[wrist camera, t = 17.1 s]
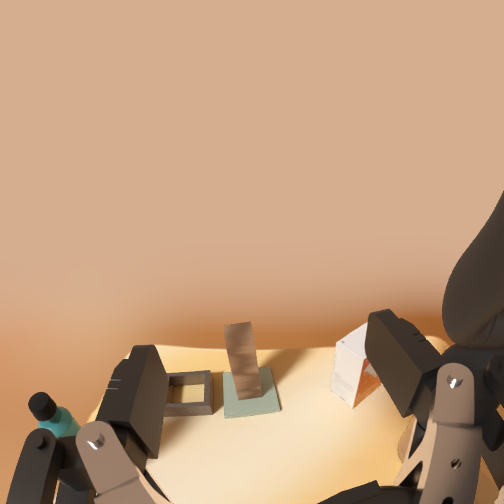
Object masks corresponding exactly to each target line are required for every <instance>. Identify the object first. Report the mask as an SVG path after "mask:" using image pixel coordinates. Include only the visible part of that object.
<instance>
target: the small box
mask: <svg viewBox="0 0 504 504" xmlns="http://www.w3.org/2000/svg"><path fill="white" fill-rule="evenodd" d="M367 324H368V323H365V324H363V325H362V326H360V327H359V328H357V329H356V330H354V331H352V332H351V333H349V334H348V335H347V336H345V337H344V338H342V339H341V340H339V341H338V342H336V350H335V360H334V369H333V377H332V385H331V392H332V393H333V394H334V395H336V396H337V397H338V398H339V399H341V400H342V401H343V402H345V403H346V404H347V405H348V406H350V407H351V408H354V407H355V406H356V405H357V404H359V403H360V402H361V401H362V400H363V399H365V398H366V397H367V396H368V395H369V394H371V393H372V392H373V391H374V390H375V389H377V388H378V387H379V386H380V383H381V380H380V379H379V377H378V375H377V374H376V372H375V370H374V369H373V367H372V365H371V364H370V362H369V361H368V359H367V357H366V354H365V348H364V344H365V337H366V331H367Z"/></svg>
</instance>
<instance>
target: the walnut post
mask: <svg viewBox="0 0 504 504" xmlns="http://www.w3.org/2000/svg"><path fill="white" fill-rule="evenodd" d="M224 332H225V344H226V349H227V353H228V358H229V362H230V367H231V371H232V376H233V380H234V384H235V388H236V393H237V397H238V401H239V400H246V399H253V398H260V397H262V392H261V385H260V378H259V371H258V364H257V357H256V349H255V342H254V336H253V331H252V327H251V322H245V323H239V324H231V325H224Z"/></svg>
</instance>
